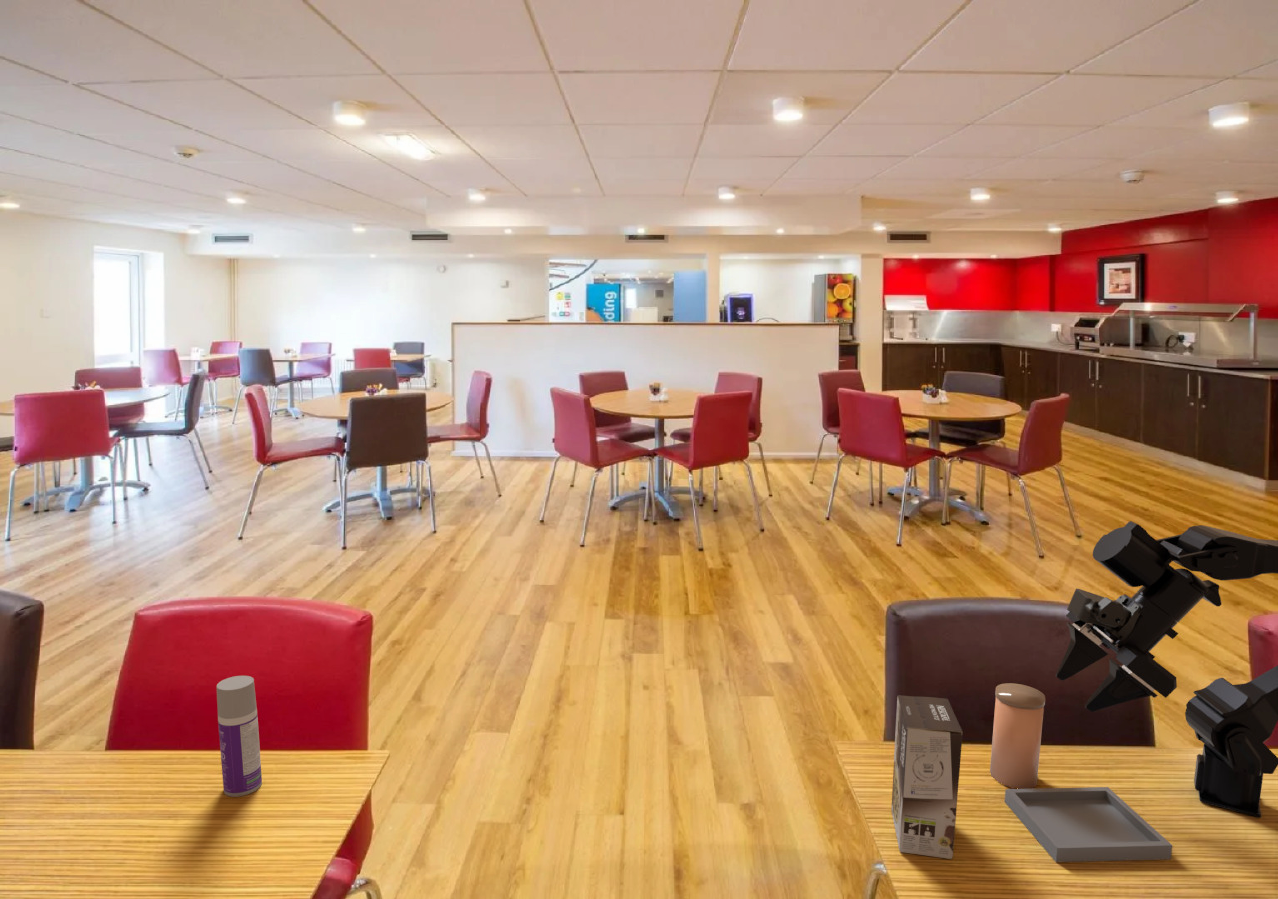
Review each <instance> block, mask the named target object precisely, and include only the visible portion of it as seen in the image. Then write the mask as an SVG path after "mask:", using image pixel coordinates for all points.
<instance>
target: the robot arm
mask: <svg viewBox="0 0 1278 899" xmlns="http://www.w3.org/2000/svg"><path fill="white" fill-rule="evenodd" d="M1092 557H1093V559H1094V560H1095V561H1096V562H1097V563H1099V564H1100V565H1101V566H1103V567H1104V568H1105V569H1106V570H1108V571H1109V572H1111V574H1113V575H1114V576H1116V578H1118V579H1119V580H1121V581H1122V582H1123V583H1125V584H1126V585H1127V586H1129V587H1131V588H1138V587H1140V588H1139V589H1138V590H1137V591H1136V592H1135V593H1134V594H1133V595H1132V596H1131V597H1130V596H1128V595H1127V594H1121V595H1120V596H1118V597H1117V598H1116V599H1115V600H1112V599H1110V598H1109V597H1104V596H1102V595H1100V594H1096V593H1093V592H1091V591H1087V590H1083V589H1081V588H1075V589H1074V592H1073V595H1072V597H1071V598H1070V599H1071V600H1070V602H1069V604H1068V605H1067V607H1066V608H1067V609H1066V610H1067V611H1068V613H1067V614H1066V615H1065V617H1066V618H1067V619H1069V620H1070V621H1071V622H1072V623H1071V622H1069V621H1067V624H1066V626H1068V629H1069V634H1070V640H1069V644H1068V646H1067V649H1066V651H1065V654H1064V655H1063V658H1062V660H1061V663H1060V665H1059V667H1058V668H1057V671H1056V673H1055V677H1056V678H1058V679H1059V680H1060V681H1065V680H1067V679H1070V678H1071V677H1074V676H1075V675H1076V674H1078V673H1080V672H1081V671H1083V670H1085V669H1086V668H1088V667H1089V666H1091V665H1093V664H1095V663H1096V662H1098V661H1100V660H1102V659H1103V658H1105V657H1107V656H1108V655H1109V654H1110V653H1109V652H1107V651H1106V650H1105V649H1104V648H1106V649H1107V650H1112V651H1113V652H1114V653H1115V654H1116V656H1115V659H1116V661H1118V662H1119V663H1120V664H1122V665H1120V664H1119V663H1118V662H1116V661H1115V660H1114V659H1112V658H1111V657H1110V658H1109V659H1108V661H1109V662H1108V663H1109V669H1108V670H1109V672H1108V675H1107V676H1106V677H1105V678H1104V680H1103V681H1102V682H1101V683H1100V684H1099V685H1098V687H1097V688H1096V689H1095V691H1094V692H1093V693H1092V695H1091V696H1090V697H1089V698H1088V700H1087V701H1086V703H1085V704H1084V707H1085V709H1086V710H1088V711H1089V712H1091V713H1094V712H1097V711H1100V710H1104V709H1107V708H1110V707H1113V706H1116V705H1121V704H1123V703H1126V702H1127V703H1128V702H1130V701H1131V702H1132V701H1135V700H1139V699H1143V698H1148V697H1152V698H1157V697H1158V694H1157V693H1159V694H1160V695H1161V696H1163V698H1168V697H1169V696H1170V695H1171V694H1172V693H1173V691H1175V690H1176V689H1177V687H1178V686H1177V684H1178V683H1177V682H1178V680H1177V676H1175V675H1174V674H1173V673H1171V671H1169V670H1168V669H1166V668H1165V667H1164V666H1163V665H1161V664H1160V663H1159V662H1158V661H1156V660H1155V659H1154V658H1156V656H1155V655H1154V654H1152V653H1151V651H1152V650H1153V649H1154V648H1155V647H1156V646H1157V645H1158V643H1160V642H1161V641H1162V640H1163V639H1164V637H1166V636H1168V638H1170V639H1172V640H1173V639H1176V637H1177V636H1178V635H1179V632H1177V631H1176V630H1174V628H1175V627H1176V626H1177V625H1178V623H1180V621H1182V620H1183V619H1184V618H1185V616H1186V615H1187V614H1189V612H1191V610H1192V609H1193V608H1194V607H1195V606H1197V605H1198V603H1199V602H1200V601H1201V600H1204V601H1206V602H1208V603H1210V604H1212V605H1213V606H1215V607H1221V606H1222V598H1221V596H1220V592H1219V591H1220V585H1219V584H1217V583H1216V582H1213V581H1211V580H1210V579H1206V580H1205V579H1204V580H1203V579H1201V578H1200V577H1198V576H1197V575H1196V574H1195V573H1193V572H1198V573H1202V574H1204V575H1206V576H1207V577H1210V578H1212V579H1213V580H1217V581H1236V580H1246V579H1248V580H1249V579H1252V578H1253V579H1254V578H1255V577H1259V576H1262V575H1268V574H1278V540H1277V539H1263V538H1255V537H1250V536H1247V535H1243V534H1240V533H1237V532H1233V531H1230V530H1226V529H1220V528H1217V527H1212V526H1207V525H1198V524H1197V525H1193V526H1190V527H1188V528H1187V530H1185V531H1183V533H1182V534H1177V535H1172V536H1168V537H1167V536H1166V537H1163V538H1159V539H1155V538H1154V536H1151V535H1150V534H1149V533H1148V531H1147V530H1146V529H1145V528H1144V527H1143V526H1141V525H1140V524H1138V523H1136V522H1134V521H1132V520H1130V521H1128V522H1127V523H1126V524H1125V525H1124V526H1122V527H1118V528H1115V529H1112V530H1111V531H1109V532H1108V533H1107V534H1103V535H1102V536H1101V537H1100V538H1099V539H1098V541H1096V544H1095V545H1094V548H1093V550H1092ZM1171 563H1174V564H1177V565H1178V566H1180V567H1182V568H1174V567H1173V566H1171ZM1101 645H1102V646H1103V647H1104V648H1103V647H1101ZM1155 691H1156V692H1157V693H1156V692H1155ZM1193 694H1194V695H1195V696H1194V695H1193V697H1192V698H1190V699H1189V700H1188V702H1187V703H1186V704H1185V707H1186V709H1185V712H1184V714H1185V721H1186V722H1187V725H1188V726H1189V727H1190V728H1191V729H1192V730H1193V731H1194V733H1195V738H1196V739H1198V741H1201V743H1203V747H1202V754H1201V753H1198V754H1196V762H1195V768H1194V778H1193V783H1194V789H1195V790H1196V791H1197V793H1198V800H1199V801H1200V802H1201V803H1204V804H1207V805H1210V806H1211V805H1212V806H1215V807H1219V808H1221V809H1222V808H1223V809H1226V810H1230V811H1233V812H1238V813H1241V814H1245V815H1248V816H1253V817H1256V818H1260V817H1262V810H1261V807H1260V801H1261V796H1262V795H1261V794H1262V786H1263V779H1264V774H1265V775H1266V774H1267V775H1273V774H1274V773H1275V771H1276V769H1277V767H1278V756H1276V754H1275V753H1273V751H1271V749H1270V748H1269V747H1268V746H1267V744H1265V742H1266V741H1268V740H1269V739H1270V738H1271V736H1272V735H1273V732H1274V730H1275V729H1276V728H1275V727H1276V725H1277V724H1278V664H1277V665H1276V666H1274V667H1272V668H1271V669H1269V670H1267V671H1265V672H1263V673H1262V674H1260V675H1259V676H1257V677H1255V678H1254V679H1252V680H1250V681H1248V682H1246V683H1238V684H1233V683H1231V682H1229V681H1228V680H1227V679H1225V678H1224V677H1219V678H1217V679H1214V681H1212V682H1211V683H1210V684H1208V685H1207V686H1205V687H1204V688H1201V689H1197V690H1194V691H1193Z"/></svg>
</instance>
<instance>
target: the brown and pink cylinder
mask: <svg viewBox="0 0 1278 899" xmlns="http://www.w3.org/2000/svg"><path fill="white" fill-rule="evenodd" d="M994 695H995V703H994V714H993V715H994V717H993V727H992V728H993V729H992V730H993V731H992V738H991V739H992V741H991V753H990V754H991V755H990V763H989V765H990V766H989V774H990V773H991V775H990V776H991V777H993V778H995V779H996V780H997V781H998V782H997V781H996V780H995V781H996V782H997V783H999V784H1001V783H1002V784H1001V785H1003V784H1004V785H1003V786H1005V785H1006V786H1005V787H1008V786H1009V787H1008V788H1010V789H1015V788H1018V789H1030V788H1031V789H1035V787H1036V786H1037V784H1038V779H1039V778H1038V777H1039V766H1040V765H1039V764H1040V755H1041V753H1040V751H1041V743H1042V742H1041V741H1042V729H1043V721H1044V720H1043V719H1044V710H1045V708H1044V707H1045V705H1046V695H1045V694H1044V693H1043V692H1042V691H1040V690H1038V689H1037V688H1034V687H1031V686H1028V685H1026V684H1025V685H1024V684H1020V683H1012V682H1009V683H1008V682H1007V683H1001V684H998V685H997V686H995V692H994ZM993 778H992V779H993Z"/></svg>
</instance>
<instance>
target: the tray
mask: <svg viewBox="0 0 1278 899" xmlns="http://www.w3.org/2000/svg"><path fill="white" fill-rule="evenodd" d="M1004 791H1005V792H1004V803H1005V805H1007V806H1008V808H1009V809H1010V810H1011V811H1012V812H1013V814H1014V815H1015V816H1016V817H1017V818H1018V819H1019V821H1020V822H1021V823H1022V824H1023V825H1024V826H1025V828H1026V829H1027V830H1028V831H1029V832H1030V834H1031V835H1032V836H1033V837H1034V838H1035V840H1037V842H1039V844H1040V846H1041V847H1043V849H1044V850H1045V851H1046V852H1047V854H1048V855H1049V856H1050V857H1051V858H1052V859H1053V861H1055V863H1063V862H1064V863H1067V862H1068V863H1071V862H1072V863H1073V862H1107V861H1108V862H1110V861H1111V862H1112V861H1114V862H1115V861H1118V862H1119V861H1146V860H1147V861H1150V860H1151V861H1152V860H1153V861H1154V860H1155V861H1156V860H1172V854H1173V853H1172V852H1173V844H1172V843H1170V842H1169V840H1167V839H1166V838H1165V837H1164V836H1163V835H1162V834H1161V833H1160V832H1159V831H1158V830H1156V829H1155V828H1154V827H1153V826H1151V825H1150V823H1148V821H1146V820H1145V819H1144V818H1143V817H1142V816H1140V814H1139V813H1137V812H1136V811H1135V810H1134V809H1133V808H1132V807H1131V806H1129V804H1127V803H1126V802H1125V801H1124V799H1122V798H1120V796H1119V795H1118V794H1116V793H1115V792H1114V791H1113V790H1112V789H1111V788H1110V787H1109V786H1104V787H1103V786H1096V787H1095V786H1093V787H1091V786H1090V787H1089V786H1087V787H1053V788H1052V787H1048V788H1047V787H1046V788H1043V787H1041V788H1040V787H1039V788H1031V789H1015V788H1006V789H1005V790H1004Z"/></svg>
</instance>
